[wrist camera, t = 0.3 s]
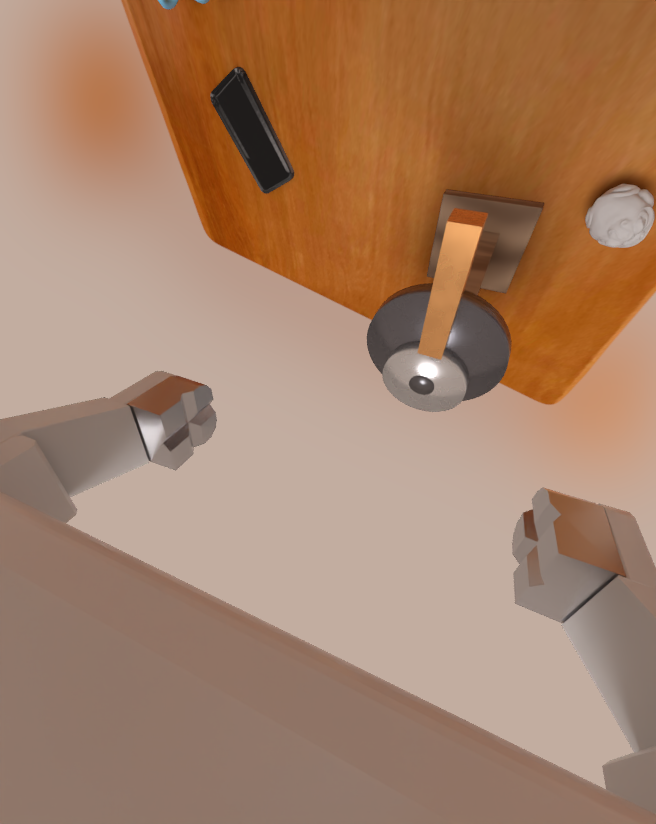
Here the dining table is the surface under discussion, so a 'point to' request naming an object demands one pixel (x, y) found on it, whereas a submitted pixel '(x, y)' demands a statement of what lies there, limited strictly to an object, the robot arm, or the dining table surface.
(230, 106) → the phone
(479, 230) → the cover
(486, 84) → the dining table surface
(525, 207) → the pedestal
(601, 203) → the frog figurine
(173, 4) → the cylinder
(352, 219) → the dining table surface
